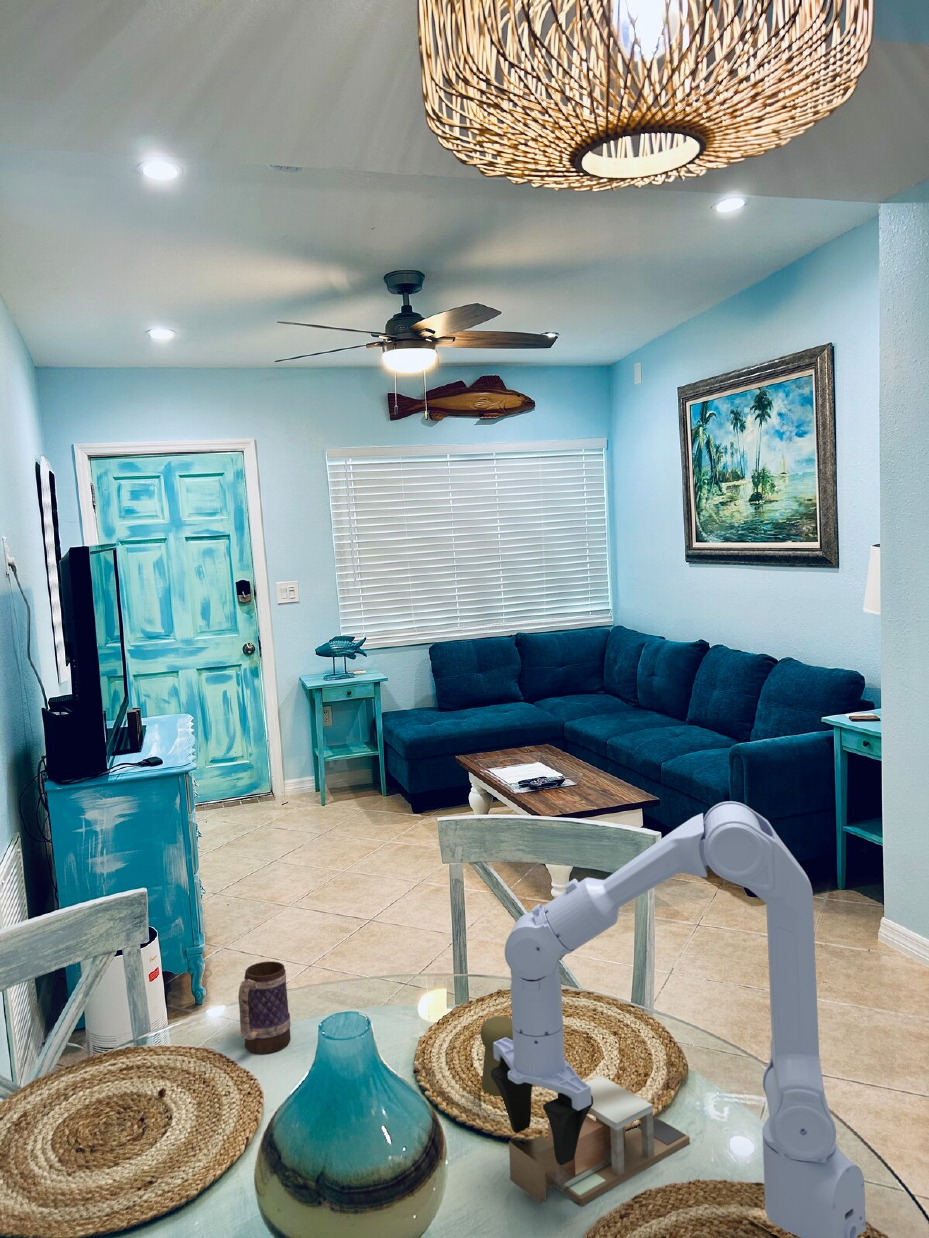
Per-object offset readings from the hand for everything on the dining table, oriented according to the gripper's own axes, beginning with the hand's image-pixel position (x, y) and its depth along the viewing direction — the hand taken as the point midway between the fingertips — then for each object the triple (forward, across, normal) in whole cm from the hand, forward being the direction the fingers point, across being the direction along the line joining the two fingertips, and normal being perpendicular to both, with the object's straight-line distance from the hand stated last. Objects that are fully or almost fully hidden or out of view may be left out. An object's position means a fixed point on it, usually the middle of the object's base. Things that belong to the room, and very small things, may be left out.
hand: (542, 1144), depth 100 cm
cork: (+6, -17, +8) cm, 19 cm away
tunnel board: (+5, 0, +10) cm, 12 cm away
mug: (+5, -52, -11) cm, 54 cm away
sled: (+4, 0, +5) cm, 6 cm away
